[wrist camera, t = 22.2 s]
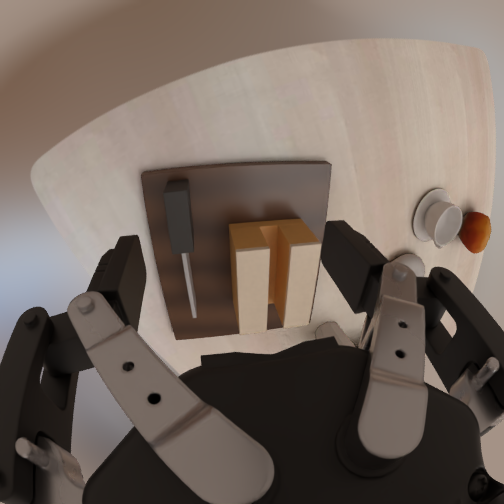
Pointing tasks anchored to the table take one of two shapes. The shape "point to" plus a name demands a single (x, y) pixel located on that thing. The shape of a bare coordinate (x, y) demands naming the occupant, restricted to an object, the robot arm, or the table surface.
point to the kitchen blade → (181, 228)
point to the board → (227, 231)
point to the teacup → (437, 218)
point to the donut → (412, 263)
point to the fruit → (475, 231)
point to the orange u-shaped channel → (273, 272)
